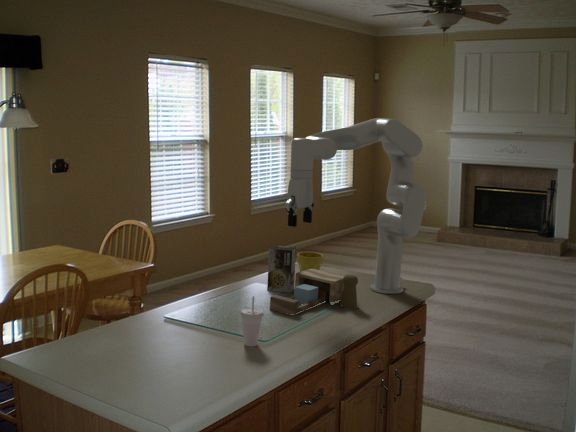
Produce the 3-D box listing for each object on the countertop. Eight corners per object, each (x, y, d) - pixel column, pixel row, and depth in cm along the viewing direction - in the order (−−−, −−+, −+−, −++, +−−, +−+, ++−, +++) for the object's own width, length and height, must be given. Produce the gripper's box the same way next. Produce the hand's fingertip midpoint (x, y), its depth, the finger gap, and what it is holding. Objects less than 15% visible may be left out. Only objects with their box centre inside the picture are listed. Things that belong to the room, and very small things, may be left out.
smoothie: (241, 348, 181) (244, 299, 179) (237, 340, 187) (239, 293, 185) (264, 347, 183) (266, 299, 181) (259, 339, 189) (261, 292, 187)
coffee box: (294, 289, 246) (297, 247, 244) (290, 293, 240) (293, 250, 238) (271, 286, 248) (273, 244, 246) (266, 290, 242) (268, 247, 240)
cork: (357, 304, 231) (359, 274, 229) (357, 309, 225) (359, 278, 223) (339, 303, 231) (342, 272, 230) (339, 308, 225) (341, 276, 224)
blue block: (302, 300, 232) (303, 283, 231) (317, 303, 229) (318, 287, 228) (293, 303, 227) (294, 287, 226) (308, 307, 224) (309, 290, 223)
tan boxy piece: (309, 290, 245) (311, 268, 244) (347, 299, 237) (349, 276, 235) (294, 296, 237) (295, 273, 235) (332, 305, 228) (334, 281, 227)
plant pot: (319, 282, 258) (320, 258, 257) (293, 279, 260) (294, 255, 259) (323, 276, 268) (325, 253, 267) (299, 273, 270) (300, 250, 269)
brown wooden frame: (303, 297, 236) (304, 285, 235) (326, 302, 231) (327, 290, 230) (269, 309, 218) (270, 296, 218) (293, 315, 213) (294, 302, 213)
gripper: (305, 171, 232) (303, 219, 235) (278, 175, 217) (276, 226, 220) (323, 173, 228) (321, 222, 231) (297, 177, 213) (295, 229, 216)
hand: (299, 224), depth 225 cm, fingers open, 9 cm apart
